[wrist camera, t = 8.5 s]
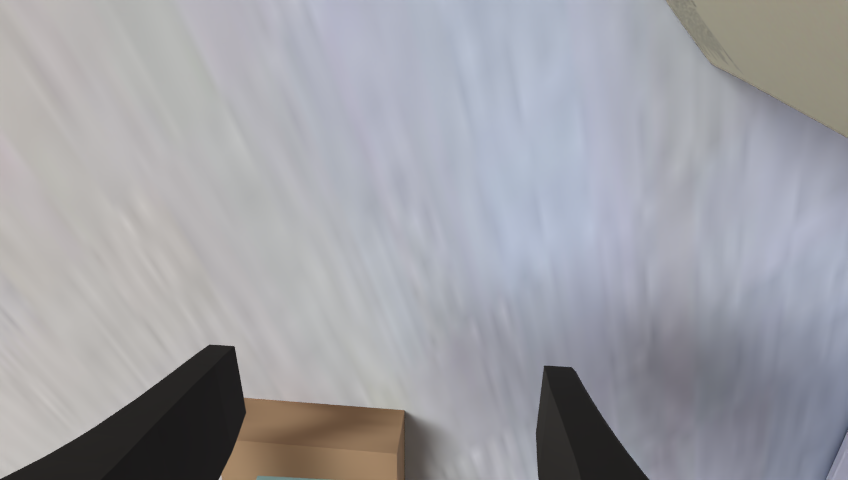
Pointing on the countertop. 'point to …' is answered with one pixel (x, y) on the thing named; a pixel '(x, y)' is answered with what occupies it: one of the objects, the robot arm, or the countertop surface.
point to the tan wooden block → (318, 442)
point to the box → (779, 49)
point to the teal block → (283, 478)
